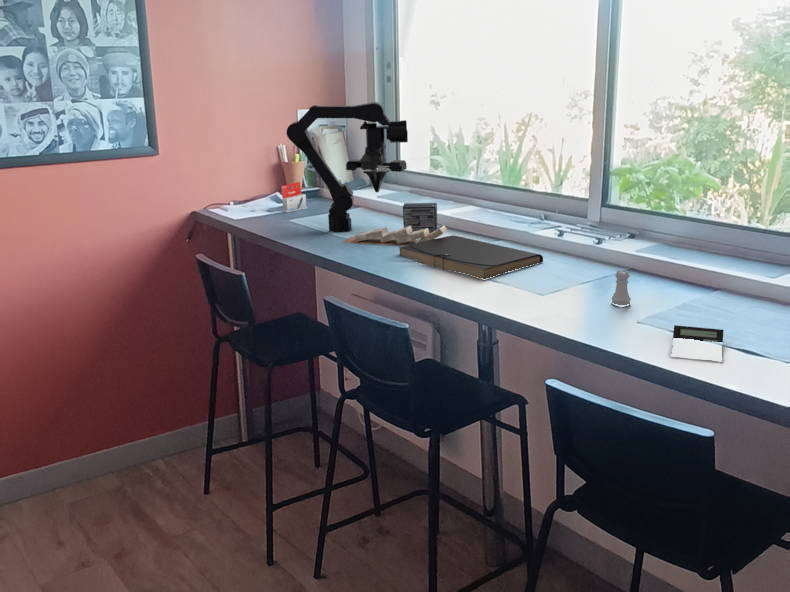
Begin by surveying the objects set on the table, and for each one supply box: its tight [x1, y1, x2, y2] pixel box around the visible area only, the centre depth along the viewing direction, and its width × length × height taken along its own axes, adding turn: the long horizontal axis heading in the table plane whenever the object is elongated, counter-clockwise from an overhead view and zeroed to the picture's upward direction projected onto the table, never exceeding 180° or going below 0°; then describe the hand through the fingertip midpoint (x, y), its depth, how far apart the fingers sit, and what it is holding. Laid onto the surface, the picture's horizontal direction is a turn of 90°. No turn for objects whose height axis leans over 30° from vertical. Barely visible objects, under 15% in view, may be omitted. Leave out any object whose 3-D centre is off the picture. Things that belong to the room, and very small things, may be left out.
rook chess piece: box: [611, 269, 632, 305], centre depth 187 cm, size 4×4×8 cm
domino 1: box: [354, 226, 389, 242], centre depth 250 cm, size 2×5×9 cm
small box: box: [402, 202, 438, 233], centre depth 255 cm, size 11×6×10 cm, turn 84°
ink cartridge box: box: [280, 181, 307, 213], centre depth 302 cm, size 2×11×10 cm, turn 147°
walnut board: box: [342, 236, 419, 247], centre depth 249 cm, size 22×8×1 cm, turn 72°
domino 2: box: [379, 226, 413, 243], centre depth 247 cm, size 2×5×9 cm
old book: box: [398, 234, 544, 279], centre depth 228 cm, size 33×4×24 cm
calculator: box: [672, 325, 724, 343], centre depth 160 cm, size 9×12×3 cm
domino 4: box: [415, 225, 448, 243], centre depth 243 cm, size 2×5×9 cm
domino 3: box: [396, 228, 430, 244], centre depth 245 cm, size 2×5×9 cm
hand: (377, 192), depth 261 cm, fingers closed
